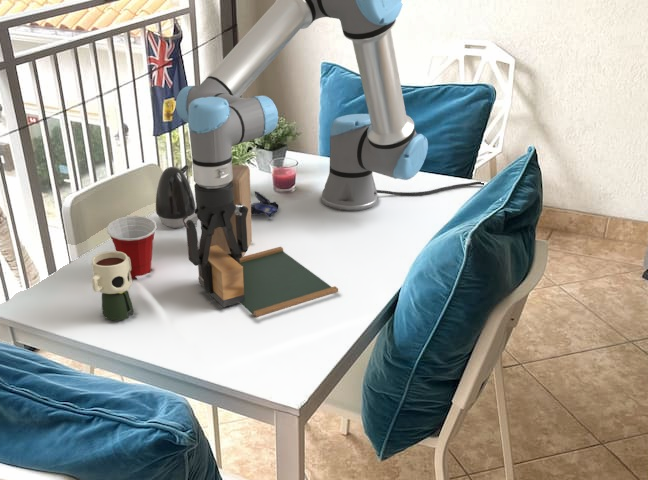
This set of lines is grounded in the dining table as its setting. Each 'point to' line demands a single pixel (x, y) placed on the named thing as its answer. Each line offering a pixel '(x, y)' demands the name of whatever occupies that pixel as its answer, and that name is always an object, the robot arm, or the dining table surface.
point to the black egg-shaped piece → (174, 197)
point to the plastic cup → (134, 241)
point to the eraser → (225, 277)
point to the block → (240, 196)
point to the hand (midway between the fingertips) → (220, 287)
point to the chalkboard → (278, 282)
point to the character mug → (113, 283)
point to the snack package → (263, 206)
